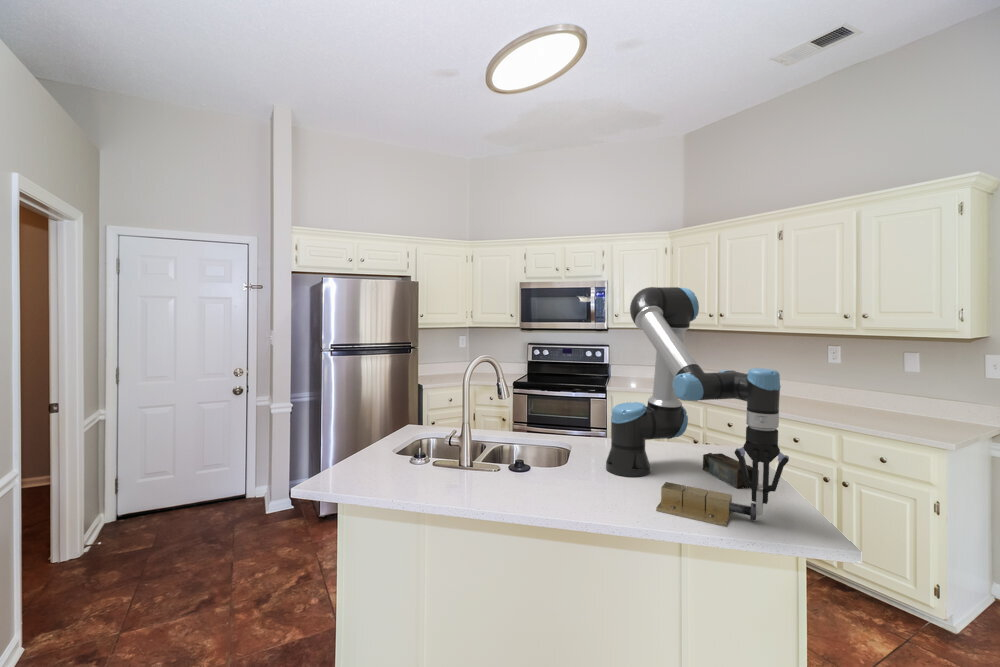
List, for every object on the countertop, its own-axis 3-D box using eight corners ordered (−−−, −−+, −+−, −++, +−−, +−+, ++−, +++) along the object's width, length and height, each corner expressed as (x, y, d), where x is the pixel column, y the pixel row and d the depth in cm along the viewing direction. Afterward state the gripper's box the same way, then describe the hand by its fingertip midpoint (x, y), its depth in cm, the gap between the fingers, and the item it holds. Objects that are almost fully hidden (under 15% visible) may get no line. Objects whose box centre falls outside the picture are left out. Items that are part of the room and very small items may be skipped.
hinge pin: (679, 506, 138) (679, 491, 138) (683, 501, 142) (683, 487, 142) (755, 523, 128) (755, 507, 127) (756, 517, 131) (757, 501, 131)
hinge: (656, 510, 136) (656, 492, 136) (669, 493, 149) (670, 477, 149) (725, 526, 127) (726, 507, 126) (733, 506, 139) (734, 489, 139)
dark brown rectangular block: (721, 469, 173) (722, 450, 173) (760, 488, 154) (760, 468, 154) (701, 470, 171) (702, 452, 171) (737, 490, 153) (738, 470, 152)
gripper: (733, 426, 128) (730, 513, 130) (790, 433, 121) (786, 525, 123) (736, 421, 135) (734, 503, 136) (791, 427, 128) (788, 514, 129)
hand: (759, 514), depth 129 cm, fingers closed
